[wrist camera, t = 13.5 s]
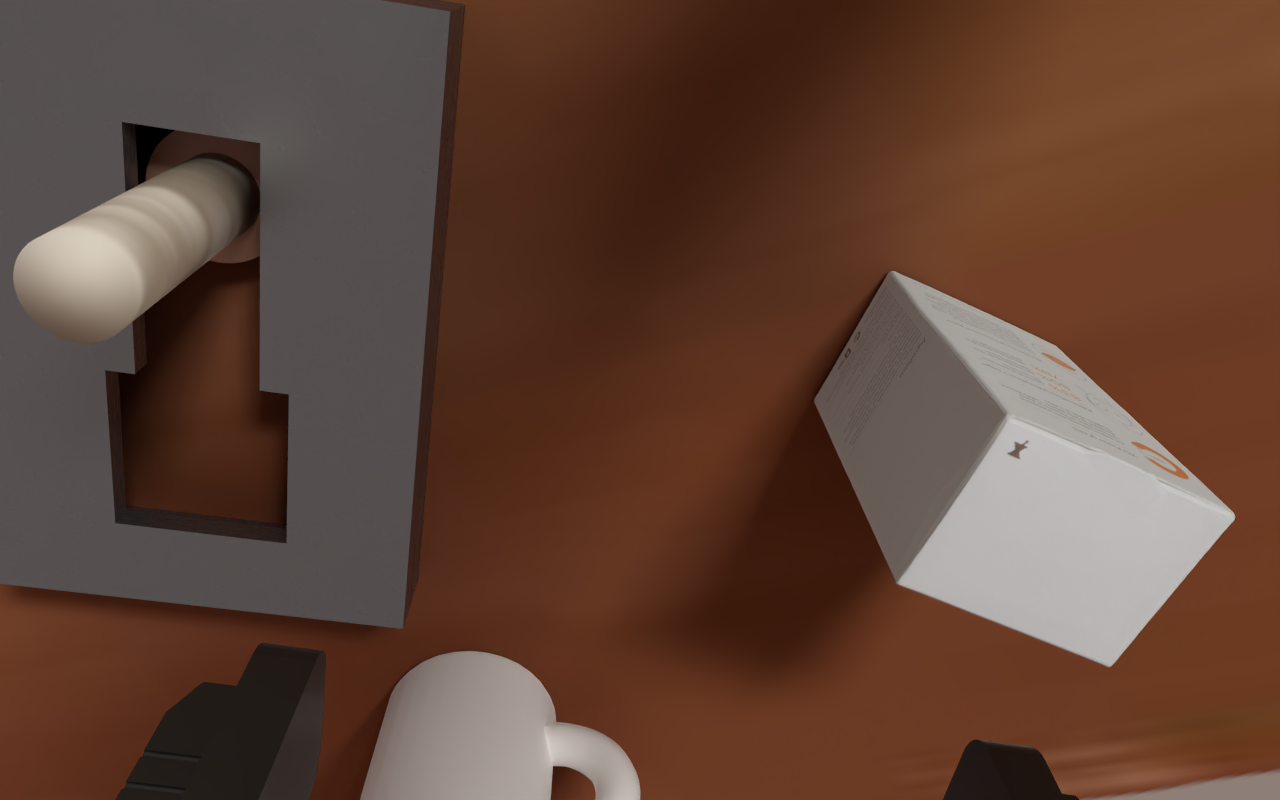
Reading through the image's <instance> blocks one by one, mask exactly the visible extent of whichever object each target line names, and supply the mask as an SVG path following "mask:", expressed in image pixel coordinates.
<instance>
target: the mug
mask: <svg viewBox="0 0 1280 800" xmlns="http://www.w3.org/2000/svg"><path fill="white" fill-rule="evenodd" d="M553 766H565V767H569V768H572V769H575V770H577V771H579V772H581V773H583V774H584V775H585V776H587V777H588V778H589V779H590V780H591V781H592V782H593V784H594V787H595V791H596V798H595V800H640V785H639V779H638V776H637V773H636V771H635V769H634V767H633V765H632V763H631V761H630V760H629V758H628V756H627V755H626V753H625V752H624V751H623V750H622V748H621V747H620V746H619V745H618V744H617V743H616V742H614V741H613V740H612V739H610V738H609V737H607V736H606V735H604V734H602V733H600V732H598V731H596V730H593V729H590V728H587V727H584V726H580V725H575V724H570V723H563V722H556V715H555V709H554V705H553V703H552V700H551V698H550V696H549V694H548V692H547V691H546V689H545V688H544V686H543V685H542V683H541V682H540V681H539V680H538V679H537V678H536V677H535V676H534V675H533V674H532V673H531V672H530V671H529V670H527V669H526V668H524V667H523V666H521V665H520V664H518V663H516V662H514V661H512V660H509V659H507V658H505V657H503V656H499V655H495V654H491V653H487V652H477V651H459V652H451V653H446V654H442V655H438V656H435V657H433V658H431V659H428V660H426V661H424V662H422V663H420V664H419V665H417V666H416V667H414V668H413V669H411V670H410V671H409V672H408V673H407V674H406V675H405V676H404V677H403V678H402V679H401V680H400V681H399V682H398V683H397V685H396V687H395V688H394V690H393V691H392V693H391V696H390V699H389V702H388V705H387V709H386V712H385V716H384V719H383V722H382V726H381V729H380V733H379V736H378V739H377V743H376V746H375V750H374V753H373V757H372V760H371V763H370V767H369V770H368V774H367V777H366V780H365V784H364V787H363V791H362V794H361V798H360V800H551V787H552V773H553Z"/></svg>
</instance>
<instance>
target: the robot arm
mask: <svg viewBox="0 0 1280 800" xmlns="http://www.w3.org/2000/svg"><path fill="white" fill-rule="evenodd" d="M325 669H326V656H325V652H324V651H319V650H311V649H304V648H296V647H289V646H281V645H273V644H266V643H261V644H260V645H258V647H257V648H256V650H255V651H254V653H253V655H252V657H251V659H250V661H249V663H248V665H247V667H246V669H245V671H244V673H243V675H242V677H241V679H240V681H239V683H238V685H237V686H231V685H224V684H216V683H208V682H203V683H202V684H200V685H199V686H198V687H197V688H195V689H194V690H193V691H192V692H190V693H189V694H188V695H187V696H185V697H184V698H183V699H182V700H180V701H179V702H178V703H177V704H176V705H174V706H173V707H172V708H171V709H169V710H168V711H167V712H166V713H165V715H164V717H163V719H162V720H161V722H160V724H159V725H158V727H157V729H156V731H155V732H154V734H153V736H152V738H151V739H150V741H149V743H148V745H147V746H146V748H145V751H144V755H143V757H140V758H139V760H138V762H137V764H136V765H135V767H134V769H133V771H132V772H131V774H130V776H129V778H128V779H127V781H126V786H125V788H124V789H122V790H121V791H120V793H119V795H118V797H117V798H116V800H309V799H310V796H311V792H312V789H313V785H314V781H315V777H316V772H317V767H318V762H319V756H320V748H321V735H322V718H323V702H324V685H325ZM943 800H1079V799H1078V798H1077V797H1076V796H1074V795H1066V794H1062V793H1061V791H1060V789H1059V787H1058V785H1057V783H1056V781H1055V779H1054V777H1053V775H1052V773H1051V771H1050V769H1049V767H1048V765H1047V763H1046V761H1045V759H1044V758H1043V756H1042V754H1041V753H1040V752H1039V751H1038V750H1037V749H1035V748H1033V747H1030V746H1022V745H1014V744H1007V743H999V742H992V741H984V740H973V741H971V742H970V743H969V744H968V745H967V746H966V748H965V750H964V752H963V754H962V757H961V759H960V761H959V764H958V766H957V768H956V771H955V773H954V775H953V777H952V780H951V782H950V784H949V787H948V789H947V791H946V794H945V796H944V798H943Z"/></svg>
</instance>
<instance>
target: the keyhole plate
mask: <svg viewBox="0 0 1280 800" xmlns="http://www.w3.org/2000/svg"><path fill="white" fill-rule="evenodd" d="M464 11H465V5H462V4H456V3H450V2H444V1H438V0H0V584H7V585H16V586H25V587H33V588H42V589H51V590H60V591H69V592H78V593H87V594H96V595H105V596H114V597H123V598H132V599H141V600H150V601H159V602H167V603H176V604H185V605H194V606H203V607H212V608H221V609H230V610H239V611H248V612H257V613H266V614H275V615H284V616H293V617H302V618H310V619H319V620H328V621H337V622H346V623H355V624H364V625H373V626H382V627H391V628H400V629H403V627H404V624H405V621H406V617H407V614H408V611H409V607H410V604H411V601H412V597H413V594H414V591H415V587H416V584H417V581H418V573H419V561H420V548H421V536H422V524H423V512H424V500H425V487H426V475H427V463H428V451H429V438H430V426H431V414H432V402H433V390H434V377H435V365H436V353H437V341H438V329H439V316H440V304H441V292H442V280H443V268H444V255H445V243H446V231H447V219H448V207H449V194H450V182H451V170H452V158H453V145H454V133H455V121H456V109H457V97H458V84H459V72H460V60H461V48H462V36H463V23H464ZM135 124H139V125H145V126H152V127H159V128H165V129H172V130H178V131H185V132H191V133H198V134H204V135H211V136H217V137H224V138H230V139H237V140H243V141H250V142H256V143H260V391H267V392H274V393H282V394H289V419H288V481H287V525H280V524H272V523H263V522H255V521H247V520H238V519H230V518H222V517H213V516H205V515H197V514H188V513H180V512H171V511H163V510H155V509H146V508H138V507H130V506H126V490H125V474H124V458H123V441H122V425H121V408H120V392H119V375H118V372H122V373H130V374H136V373H137V372H138V371H139V370H140V369H141V368H143V367H144V366H145V365H146V364H147V356H146V335H145V314H144V313H143V314H141V315H140V316H139V317H138V318H136V319H135V320H134V321H133V322H131V323H130V324H129V325H128V326H126V327H125V328H124V329H123V330H121V331H120V332H119V333H117V334H116V335H114V336H113V337H111V338H109V339H107V340H104V341H101V342H95V343H77V342H72V341H68V340H65V339H62V338H59V337H57V336H55V335H53V334H51V333H49V332H48V331H46V330H45V329H43V328H42V327H41V326H39V325H38V324H37V323H36V322H35V321H34V320H33V319H32V318H31V317H30V316H29V315H28V314H27V312H26V311H25V310H24V308H23V306H22V305H21V303H20V301H19V299H18V297H17V294H16V291H15V287H14V281H13V272H14V265H15V262H16V259H17V257H18V255H19V253H20V252H21V251H22V249H23V248H24V247H25V246H26V245H27V244H28V243H30V242H31V241H32V240H34V239H36V238H38V237H40V236H42V235H44V234H46V233H47V232H49V231H51V230H53V229H55V228H57V227H59V226H61V225H63V224H65V223H67V222H69V221H70V220H72V219H74V218H76V217H78V216H80V215H82V214H84V213H86V212H88V211H90V210H92V209H94V208H95V207H97V206H99V205H101V204H103V203H105V202H107V201H109V200H111V199H113V198H115V197H117V196H119V195H120V194H122V193H124V192H126V191H128V190H130V189H132V188H134V187H136V186H138V168H137V147H136V126H135Z"/></svg>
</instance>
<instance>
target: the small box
mask: <svg viewBox="0 0 1280 800" xmlns="http://www.w3.org/2000/svg"><path fill="white" fill-rule="evenodd" d="M814 403H815V405H816V407H817V409H818V412H819V414H820V416H821V419H822V421H823V423H824V425H825V427H826V429H827V432H828V434H829V436H830V438H831V440H832V443H833V445H834V447H835V449H836V451H837V454H838V456H839V458H840V460H841V462H842V465H843V467H844V469H845V471H846V473H847V476H848V478H849V480H850V482H851V485H852V487H853V489H854V491H855V494H856V496H857V498H858V500H859V502H860V504H861V507H862V509H863V511H864V513H865V515H866V518H867V520H868V522H869V524H870V526H871V528H872V531H873V533H874V535H875V537H876V539H877V541H878V544H879V546H880V548H881V550H882V553H883V555H884V557H885V559H886V562H887V564H888V566H889V568H890V570H891V573H892V575H893V577H894V580H895V582H896V584H897V585H898V586H900V587H903V588H905V589H908V590H911V591H913V592H916V593H918V594H921V595H923V596H926V597H929V598H931V599H934V600H937V601H939V602H942V603H944V604H947V605H949V606H952V607H954V608H957V609H959V610H962V611H965V612H967V613H970V614H972V615H975V616H977V617H980V618H983V619H985V620H988V621H991V622H994V623H996V624H998V625H1000V626H1003V627H1005V628H1008V629H1011V630H1014V631H1016V632H1019V633H1021V634H1023V635H1026V636H1028V637H1031V638H1034V639H1036V640H1039V641H1042V642H1045V643H1047V644H1049V645H1052V646H1055V647H1057V648H1060V649H1062V650H1065V651H1068V652H1070V653H1073V654H1075V655H1078V656H1080V657H1083V658H1085V659H1088V660H1091V661H1093V662H1096V663H1098V664H1101V665H1103V666H1105V667H1110V666H1112V665H1113V664H1114V663H1115V661H1116V660H1117V659H1118V658H1119V657H1120V655H1121V654H1122V653H1123V652H1124V651H1125V649H1126V648H1127V647H1128V646H1129V645H1130V643H1131V642H1132V641H1133V640H1134V639H1135V637H1136V636H1137V635H1138V634H1139V632H1140V631H1141V630H1142V629H1143V628H1144V626H1145V625H1146V624H1147V623H1148V622H1149V620H1150V619H1151V618H1152V617H1153V616H1154V614H1155V613H1156V612H1157V611H1158V610H1159V608H1160V607H1161V606H1162V605H1163V604H1164V603H1165V601H1166V600H1167V599H1168V598H1169V597H1170V595H1171V594H1172V593H1173V592H1174V590H1175V589H1176V588H1177V587H1178V586H1179V584H1180V583H1181V582H1182V581H1183V580H1184V578H1185V577H1186V576H1187V575H1188V574H1189V572H1190V571H1191V570H1192V569H1193V568H1194V566H1195V565H1196V564H1197V563H1198V562H1199V560H1200V559H1201V558H1202V557H1203V556H1204V554H1205V553H1206V552H1207V551H1208V550H1209V549H1210V547H1211V546H1212V545H1213V544H1214V543H1215V541H1216V540H1217V539H1218V538H1219V537H1220V535H1221V534H1222V533H1223V532H1224V531H1225V530H1226V529H1227V528H1228V526H1229V525H1230V524H1231V523H1232V522H1233V521H1234V519H1235V515H1234V513H1233V512H1232V511H1231V510H1230V509H1229V508H1228V507H1227V506H1226V505H1225V504H1224V503H1223V502H1222V501H1221V500H1220V499H1218V498H1217V497H1216V496H1215V495H1214V494H1213V493H1212V492H1211V491H1210V490H1209V489H1208V488H1207V487H1206V486H1205V485H1204V484H1203V483H1202V482H1201V481H1200V480H1199V479H1198V478H1197V477H1195V476H1194V475H1193V474H1192V473H1191V472H1190V471H1189V470H1188V469H1187V468H1185V467H1184V466H1183V465H1182V464H1181V463H1180V462H1179V461H1178V460H1177V459H1176V458H1175V457H1174V456H1173V455H1172V454H1170V453H1169V452H1168V451H1167V450H1166V449H1165V448H1164V447H1163V446H1162V445H1161V444H1160V443H1159V442H1158V441H1157V440H1156V439H1154V438H1153V437H1152V436H1151V435H1150V434H1149V433H1148V432H1147V431H1146V430H1145V429H1144V428H1143V427H1142V426H1141V425H1140V424H1139V423H1138V422H1137V421H1135V420H1134V419H1133V418H1132V417H1131V416H1130V415H1129V414H1128V413H1127V412H1126V411H1125V410H1124V409H1123V408H1121V407H1120V406H1119V405H1118V404H1117V403H1116V402H1115V401H1114V400H1113V399H1112V398H1110V397H1109V396H1108V395H1107V394H1106V393H1105V392H1104V391H1103V390H1102V389H1101V388H1100V387H1099V386H1097V385H1096V384H1095V383H1094V382H1093V381H1092V380H1091V379H1090V378H1089V377H1088V376H1087V375H1086V374H1085V373H1084V372H1083V371H1082V370H1081V369H1080V368H1079V367H1077V366H1076V365H1075V364H1074V363H1073V362H1072V361H1071V360H1070V359H1069V358H1068V357H1067V356H1066V355H1065V354H1064V353H1063V352H1062V351H1061V350H1060V349H1059V348H1058V347H1057V346H1055V345H1053V344H1051V343H1049V342H1047V341H1045V340H1043V339H1041V338H1038V337H1036V336H1034V335H1032V334H1030V333H1028V332H1026V331H1024V330H1022V329H1020V328H1017V327H1015V326H1013V325H1011V324H1009V323H1007V322H1005V321H1003V320H1000V319H998V318H996V317H994V316H992V315H990V314H988V313H985V312H983V311H981V310H979V309H977V308H974V307H972V306H970V305H968V304H966V303H964V302H961V301H959V300H957V299H955V298H953V297H951V296H948V295H946V294H944V293H942V292H940V291H937V290H935V289H933V288H931V287H929V286H927V285H924V284H922V283H920V282H918V281H915V280H913V279H911V278H909V277H906V276H904V275H901V274H899V273H897V272H895V271H890V272H889V273H888V274H887V276H886V278H885V279H884V281H883V283H882V285H881V286H880V288H879V289H878V291H877V293H876V295H875V296H874V298H873V300H872V302H871V303H870V305H869V307H868V308H867V310H866V312H865V314H864V315H863V317H862V319H861V320H860V322H859V324H858V325H857V327H856V329H855V331H854V332H853V334H852V336H851V338H850V339H849V341H848V343H847V344H846V346H845V348H844V350H843V351H842V353H841V355H840V356H839V358H838V360H837V362H836V363H835V365H834V367H833V369H832V370H831V372H830V374H829V376H828V377H827V379H826V381H825V382H824V384H823V386H822V387H821V389H820V391H819V392H818V394H817V396H816V397H815V399H814Z"/></svg>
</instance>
